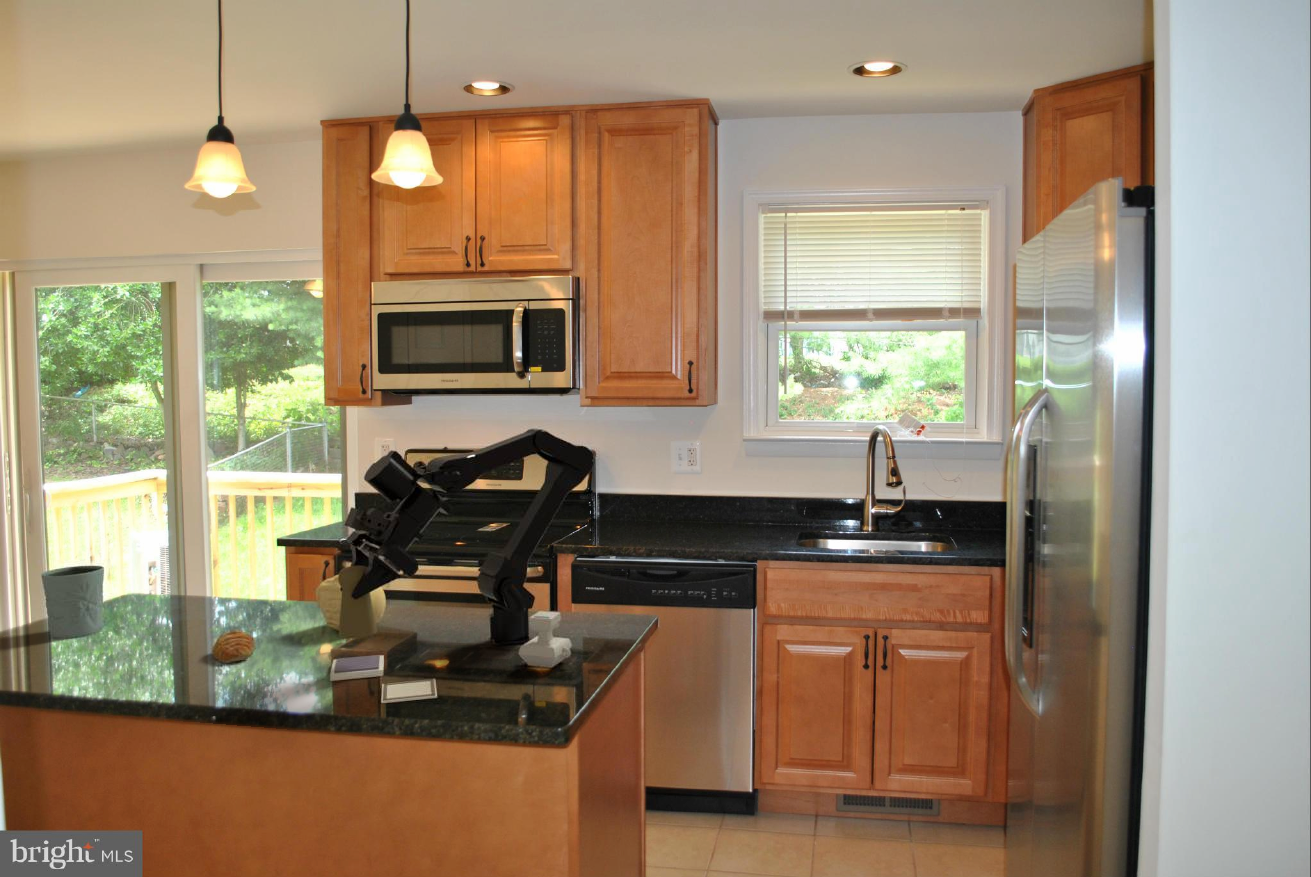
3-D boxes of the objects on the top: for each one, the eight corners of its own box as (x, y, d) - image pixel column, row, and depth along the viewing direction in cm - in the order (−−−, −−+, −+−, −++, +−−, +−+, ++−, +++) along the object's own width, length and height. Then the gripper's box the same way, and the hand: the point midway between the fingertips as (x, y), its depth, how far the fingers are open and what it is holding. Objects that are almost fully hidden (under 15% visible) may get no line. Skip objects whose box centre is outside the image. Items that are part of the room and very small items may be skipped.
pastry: (259, 661, 159) (257, 639, 159) (215, 668, 156) (214, 646, 156) (252, 647, 167) (251, 626, 167) (211, 654, 164) (210, 632, 164)
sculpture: (307, 630, 177) (305, 574, 176) (358, 616, 187) (356, 563, 187) (348, 639, 171) (346, 581, 170) (398, 623, 181) (396, 568, 181)
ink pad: (383, 661, 158) (383, 653, 158) (382, 675, 150) (382, 667, 150) (333, 665, 156) (333, 658, 156) (330, 680, 148) (330, 672, 148)
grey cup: (48, 643, 171) (44, 578, 171) (42, 631, 179) (38, 569, 178) (111, 632, 178) (108, 570, 177) (102, 621, 186) (99, 562, 185)
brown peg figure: (359, 640, 148) (356, 571, 148) (330, 636, 151) (326, 569, 150) (385, 629, 154) (381, 564, 153) (356, 626, 156) (352, 561, 156)
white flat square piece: (435, 680, 147) (435, 678, 147) (437, 697, 140) (436, 695, 140) (382, 685, 145) (382, 683, 145) (381, 703, 138) (381, 700, 138)
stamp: (512, 668, 153) (510, 617, 153) (530, 656, 159) (529, 607, 159) (562, 673, 150) (561, 621, 150) (579, 660, 157) (577, 611, 156)
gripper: (355, 483, 160) (292, 556, 155) (395, 494, 145) (327, 575, 140) (402, 523, 166) (343, 595, 160) (445, 537, 151) (381, 617, 145)
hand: (347, 594), depth 151 cm, fingers closed on brown peg figure, 5 cm apart
